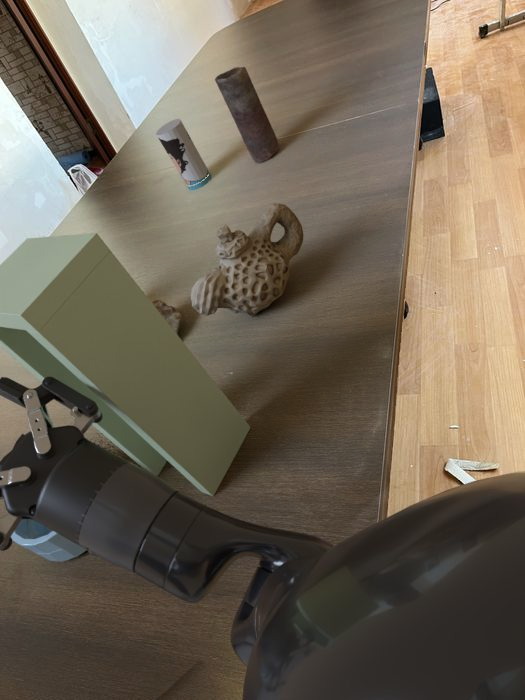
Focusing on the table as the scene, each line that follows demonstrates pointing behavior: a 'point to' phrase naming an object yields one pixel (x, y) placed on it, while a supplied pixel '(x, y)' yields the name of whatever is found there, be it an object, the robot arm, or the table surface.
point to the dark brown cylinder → (248, 113)
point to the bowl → (45, 541)
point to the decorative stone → (168, 314)
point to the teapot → (250, 266)
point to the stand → (116, 356)
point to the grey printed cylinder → (183, 153)
